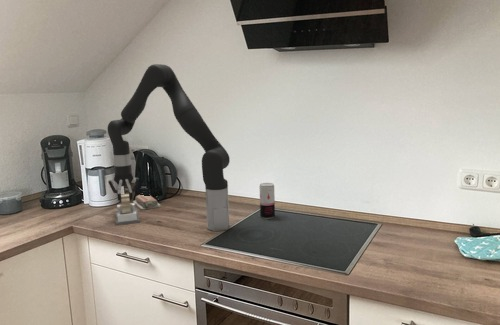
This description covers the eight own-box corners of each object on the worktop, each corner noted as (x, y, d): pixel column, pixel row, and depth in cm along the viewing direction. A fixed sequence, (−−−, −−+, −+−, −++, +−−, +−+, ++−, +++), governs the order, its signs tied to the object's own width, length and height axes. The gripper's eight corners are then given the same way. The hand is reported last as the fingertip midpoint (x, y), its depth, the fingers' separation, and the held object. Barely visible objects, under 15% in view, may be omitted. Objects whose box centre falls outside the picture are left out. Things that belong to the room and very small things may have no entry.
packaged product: (160, 198, 199) (141, 202, 194) (161, 207, 200) (141, 211, 195) (150, 191, 214) (131, 194, 210) (151, 199, 215) (132, 203, 210)
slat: (130, 211, 178) (129, 201, 177) (122, 212, 177) (121, 202, 176) (129, 203, 191) (128, 193, 190) (121, 204, 190) (120, 194, 189)
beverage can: (275, 214, 183) (274, 182, 180) (274, 219, 176) (273, 186, 173) (261, 214, 183) (260, 182, 181) (259, 219, 177) (258, 186, 174)
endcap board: (139, 222, 177) (138, 213, 177) (115, 225, 174) (115, 216, 174) (137, 210, 195) (136, 202, 194) (115, 212, 192) (115, 204, 191)
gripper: (105, 166, 175) (109, 204, 178) (139, 164, 179) (141, 201, 182) (106, 163, 182) (109, 200, 185) (138, 161, 186) (140, 197, 189)
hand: (125, 200), depth 183 cm, fingers closed on slat, 3 cm apart
